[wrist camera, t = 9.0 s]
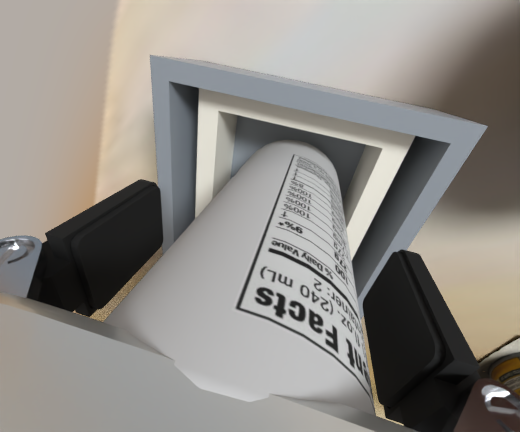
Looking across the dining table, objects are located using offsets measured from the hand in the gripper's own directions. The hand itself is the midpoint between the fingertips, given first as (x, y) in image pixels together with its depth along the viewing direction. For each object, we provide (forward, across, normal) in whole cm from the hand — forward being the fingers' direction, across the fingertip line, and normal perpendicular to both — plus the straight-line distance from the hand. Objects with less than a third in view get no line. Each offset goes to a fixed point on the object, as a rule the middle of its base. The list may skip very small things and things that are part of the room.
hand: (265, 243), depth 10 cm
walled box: (+8, 0, +2) cm, 8 cm away
